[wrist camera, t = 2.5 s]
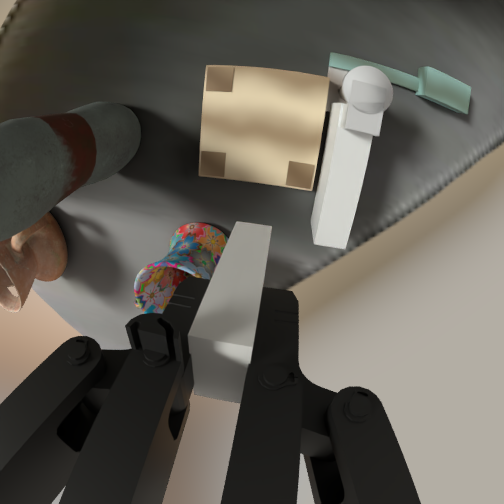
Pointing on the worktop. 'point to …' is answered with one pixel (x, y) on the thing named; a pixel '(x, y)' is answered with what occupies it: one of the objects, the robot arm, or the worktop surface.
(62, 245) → the ceramic jug
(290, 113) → the stool seat
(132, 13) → the worktop surface
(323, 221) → the hinged leg
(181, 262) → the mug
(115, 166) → the bottle
